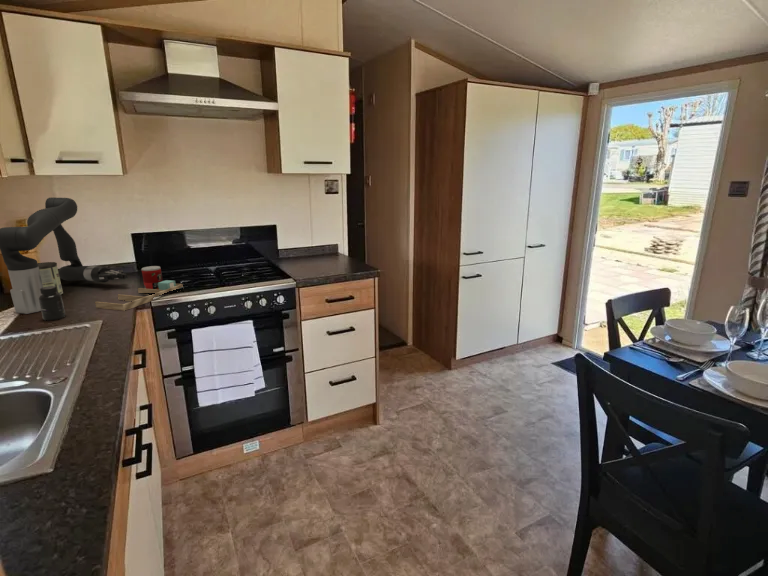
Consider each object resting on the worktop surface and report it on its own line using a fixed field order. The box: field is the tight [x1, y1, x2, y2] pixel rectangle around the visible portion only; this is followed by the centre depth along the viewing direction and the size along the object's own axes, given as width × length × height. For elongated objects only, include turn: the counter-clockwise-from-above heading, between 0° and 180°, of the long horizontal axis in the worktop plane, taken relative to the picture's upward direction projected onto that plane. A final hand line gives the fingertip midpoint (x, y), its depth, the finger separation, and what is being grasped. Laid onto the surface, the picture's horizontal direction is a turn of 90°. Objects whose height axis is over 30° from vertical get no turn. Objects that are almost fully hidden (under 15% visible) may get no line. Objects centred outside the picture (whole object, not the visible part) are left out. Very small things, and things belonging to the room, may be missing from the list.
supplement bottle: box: [39, 286, 66, 322], centre depth 157 cm, size 7×7×12 cm
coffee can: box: [37, 261, 64, 295], centre depth 187 cm, size 10×10×14 cm
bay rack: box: [94, 283, 184, 312], centre depth 183 cm, size 32×15×2 cm, turn 164°
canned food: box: [141, 265, 164, 290], centre depth 193 cm, size 8×8×11 cm
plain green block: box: [158, 279, 177, 290], centre depth 191 cm, size 5×5×5 cm
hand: (125, 276), depth 196 cm, fingers closed
